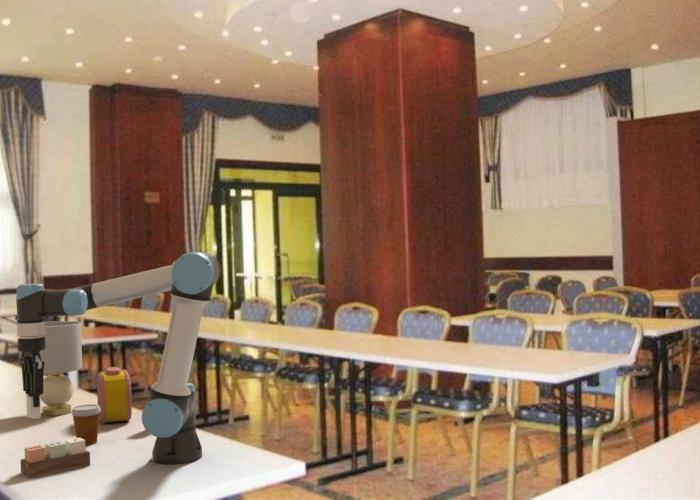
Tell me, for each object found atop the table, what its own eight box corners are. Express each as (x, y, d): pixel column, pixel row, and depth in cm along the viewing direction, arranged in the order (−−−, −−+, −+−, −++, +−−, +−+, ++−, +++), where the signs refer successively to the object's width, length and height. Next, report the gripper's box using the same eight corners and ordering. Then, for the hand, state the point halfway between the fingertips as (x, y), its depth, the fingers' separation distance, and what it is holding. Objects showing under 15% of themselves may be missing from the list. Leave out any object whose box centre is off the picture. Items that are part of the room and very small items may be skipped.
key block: (90, 465, 238) (89, 451, 238) (29, 478, 226) (28, 464, 226) (81, 460, 243) (80, 447, 243) (20, 472, 231) (20, 459, 231)
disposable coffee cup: (92, 447, 259) (91, 410, 258) (66, 446, 261) (65, 410, 260) (107, 439, 268) (106, 404, 268) (81, 438, 270) (80, 403, 270)
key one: (85, 454, 238) (85, 439, 238) (71, 457, 235) (70, 442, 235) (79, 452, 241) (79, 437, 241) (65, 454, 239) (65, 439, 239)
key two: (65, 458, 234) (65, 443, 234) (51, 462, 231) (50, 446, 231) (60, 456, 238) (59, 440, 237) (45, 458, 235) (45, 443, 235)
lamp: (67, 419, 300) (64, 326, 300) (18, 418, 303) (16, 326, 303) (92, 407, 320) (90, 320, 319) (46, 407, 323) (44, 321, 323)
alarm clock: (132, 423, 290) (131, 371, 290) (101, 427, 286) (99, 373, 286) (127, 413, 308) (125, 364, 307) (97, 416, 304) (96, 366, 303)
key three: (45, 463, 230) (45, 447, 230) (30, 466, 227) (29, 450, 227) (40, 460, 234) (39, 444, 234) (24, 463, 231) (24, 447, 231)
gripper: (54, 337, 227) (56, 419, 227) (35, 333, 238) (37, 411, 239) (27, 340, 222) (29, 423, 222) (9, 336, 233) (11, 415, 234)
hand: (33, 417), depth 230 cm, fingers open, 2 cm apart
